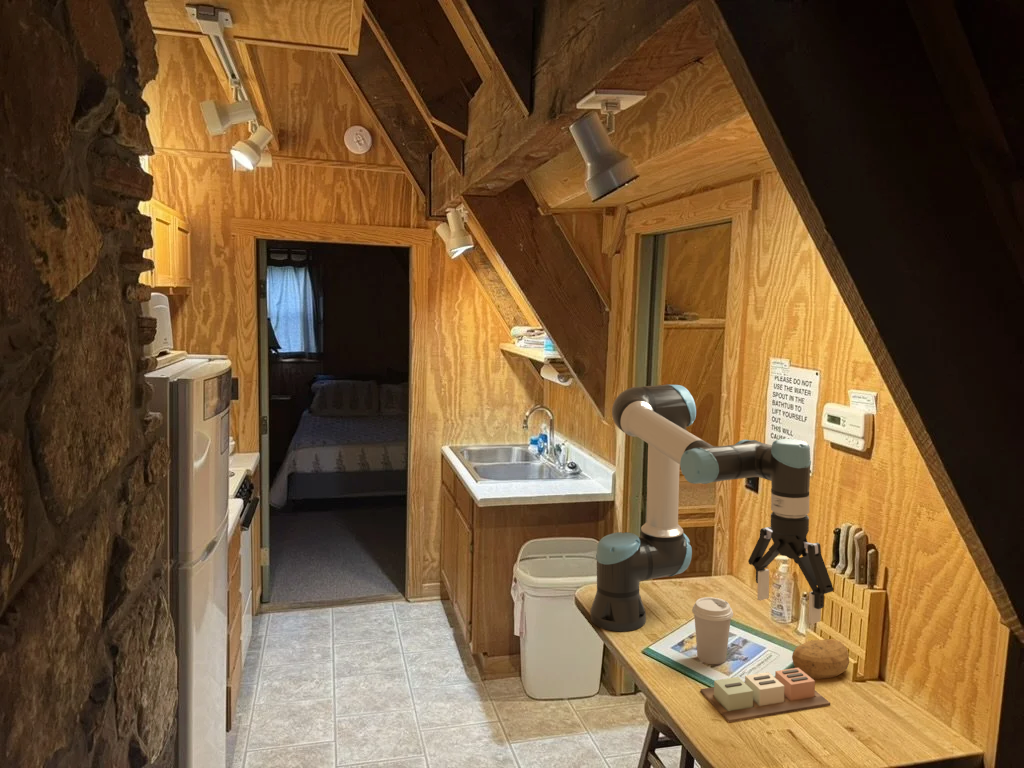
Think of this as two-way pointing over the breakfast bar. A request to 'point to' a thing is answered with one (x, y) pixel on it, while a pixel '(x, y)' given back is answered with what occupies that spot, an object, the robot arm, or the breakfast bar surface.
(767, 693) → the tile
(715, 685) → the slotted block
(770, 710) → the board
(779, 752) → the breakfast bar surface
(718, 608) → the coffee cup
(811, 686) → the tile
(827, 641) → the potato
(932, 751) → the breakfast bar surface
